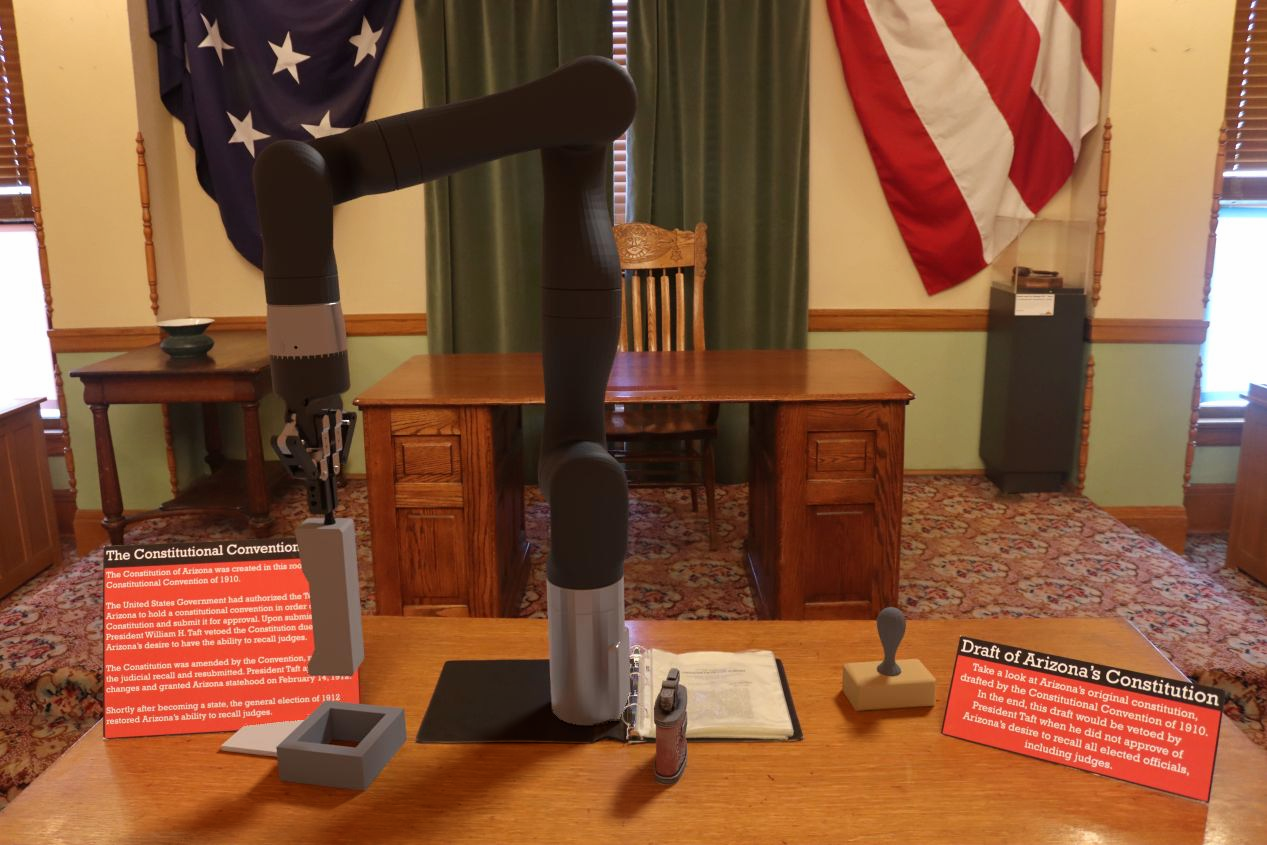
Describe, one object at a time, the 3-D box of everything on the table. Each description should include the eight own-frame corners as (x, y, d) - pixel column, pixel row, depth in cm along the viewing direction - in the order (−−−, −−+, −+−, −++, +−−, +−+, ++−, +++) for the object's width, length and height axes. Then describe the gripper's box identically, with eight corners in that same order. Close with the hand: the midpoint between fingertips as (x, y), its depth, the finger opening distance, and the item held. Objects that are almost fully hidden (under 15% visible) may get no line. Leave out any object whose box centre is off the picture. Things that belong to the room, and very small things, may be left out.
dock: (406, 739, 107) (404, 708, 106) (364, 790, 98) (361, 757, 97) (328, 731, 109) (325, 700, 108) (279, 780, 100) (276, 747, 99)
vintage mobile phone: (320, 660, 103) (301, 442, 97) (364, 660, 103) (347, 442, 97) (307, 676, 99) (287, 451, 94) (353, 677, 99) (335, 451, 94)
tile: (322, 720, 112) (321, 716, 112) (284, 757, 104) (283, 752, 104) (263, 714, 113) (262, 709, 113) (221, 750, 106) (221, 745, 106)
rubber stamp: (916, 684, 118) (921, 596, 116) (935, 707, 113) (941, 615, 110) (841, 689, 117) (844, 601, 115) (856, 712, 112) (860, 620, 109)
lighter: (680, 786, 98) (680, 700, 95) (649, 783, 98) (648, 697, 96) (691, 744, 105) (691, 664, 103) (662, 741, 106) (661, 661, 104)
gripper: (305, 358, 86) (322, 534, 90) (374, 339, 99) (386, 494, 103) (233, 357, 88) (254, 530, 92) (310, 338, 101) (325, 491, 104)
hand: (324, 510), depth 97 cm, fingers closed on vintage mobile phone, 1 cm apart
